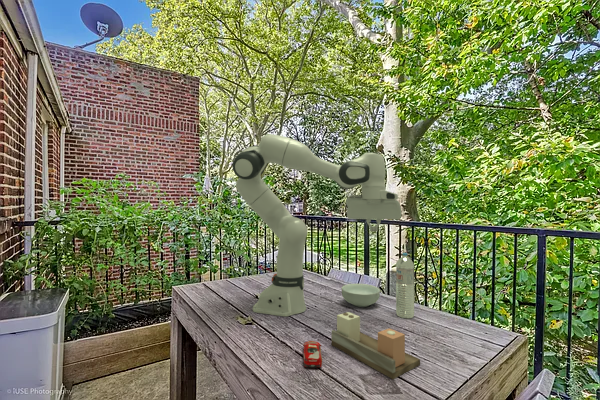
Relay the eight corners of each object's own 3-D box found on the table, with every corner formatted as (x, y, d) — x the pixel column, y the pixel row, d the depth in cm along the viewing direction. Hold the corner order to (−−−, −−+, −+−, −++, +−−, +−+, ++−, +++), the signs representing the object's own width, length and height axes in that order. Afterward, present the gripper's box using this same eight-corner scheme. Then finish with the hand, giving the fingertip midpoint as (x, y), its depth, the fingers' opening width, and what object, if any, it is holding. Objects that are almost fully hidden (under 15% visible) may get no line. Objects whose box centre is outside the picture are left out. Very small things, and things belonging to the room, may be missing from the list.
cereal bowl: (334, 300, 139) (334, 285, 139) (364, 296, 146) (364, 282, 146) (355, 312, 123) (355, 295, 124) (387, 307, 130) (387, 291, 130)
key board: (357, 335, 101) (358, 322, 102) (420, 364, 83) (420, 348, 83) (331, 345, 94) (331, 330, 94) (392, 379, 76) (392, 361, 76)
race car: (303, 347, 93) (303, 334, 94) (320, 348, 93) (320, 334, 93) (302, 370, 80) (302, 355, 80) (322, 370, 80) (322, 355, 80)
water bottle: (415, 319, 116) (415, 254, 117) (397, 318, 117) (397, 254, 118) (412, 313, 123) (412, 252, 123) (395, 312, 124) (395, 251, 125)
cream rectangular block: (348, 335, 97) (348, 311, 98) (359, 340, 93) (359, 315, 94) (337, 339, 94) (337, 314, 95) (348, 345, 90) (348, 319, 91)
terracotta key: (389, 355, 84) (389, 327, 85) (404, 362, 80) (404, 333, 81) (377, 360, 82) (377, 331, 82) (393, 368, 77) (393, 337, 78)
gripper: (346, 194, 114) (346, 231, 114) (402, 194, 111) (402, 232, 110) (346, 195, 120) (346, 230, 120) (399, 195, 117) (399, 231, 117)
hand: (373, 231), depth 115 cm, fingers closed
